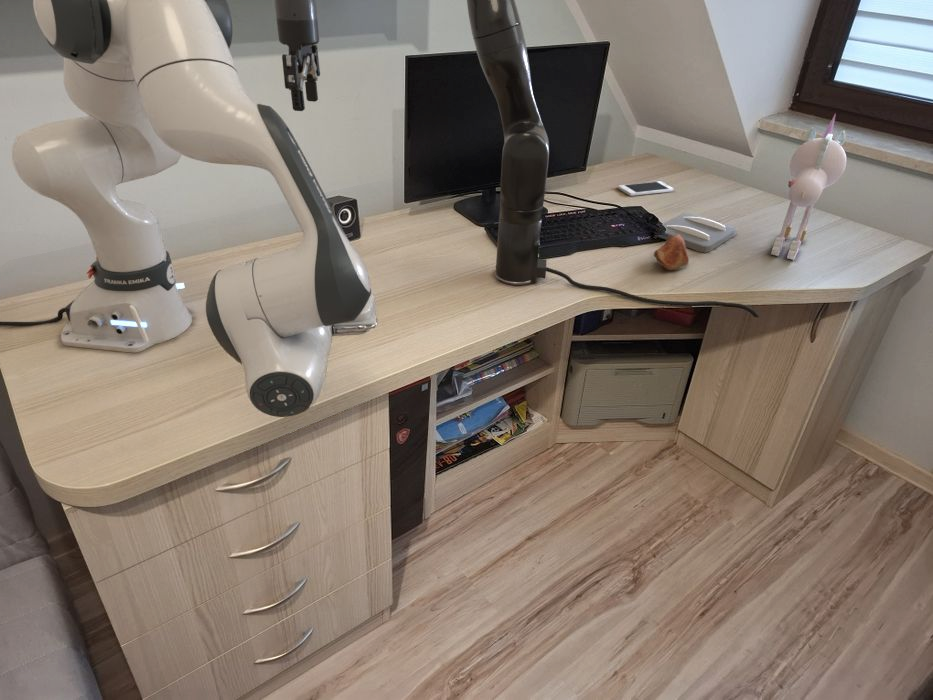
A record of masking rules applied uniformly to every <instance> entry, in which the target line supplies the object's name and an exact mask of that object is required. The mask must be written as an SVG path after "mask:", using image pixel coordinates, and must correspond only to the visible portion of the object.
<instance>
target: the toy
mask: <svg viewBox="0 0 933 700" xmlns="http://www.w3.org/2000/svg"><path fill="white" fill-rule="evenodd" d="M836 116H837V115H836V112H835V113H834V115H833V116H832V119H831V120H830V122H829V124H828V126H827V128H826V130H825V131H824V133H823V134H822V136H821V137H817V138H816V136H817V128H815V127H810V129H809V130H808V133H807V135H806V136H805V142H804V143H802V144H801V145H800V146H798V148H797V149H796V150H795V151H794V152H793V154H792V156H791V159H790V162H789V173H790V175H791V178H792V180H789V181H788V188H789V189H788V198H789V201H790V202H789V205H788V209H787V212H786V215H785V218H784V221H783V223H782V227H781V230H780V233H779V235H777V236H776V239H775V241H774V243H773V246H772V249H771V253H770V255H772V256H776V257H779V255H780V253H781V252H782V249H783V248H784V246H785V242H786V240H789V238H790V234H791V232H792V227H793V225H792V223H793V219H794V217H795V213H796V211H797V208H798V207H801V208H802V207H804V208H805V210H804V213H803V216H802V219H801V222H800V225H799V227H798V230H797V233H796V237H795V239H793V240H792V242H791V245H790V247H789V250H788V253H787V256H786V259H788V260H792V261H794V260H795V259H796V257H797V255H798V253H799V251H800V249H801V245H802V244H803V243H804V240H805V238H806V235H807V231H808V228H807V227H808V224H809V221H810V218H811V215H812V212H813V209H814V207H815V204H816V202H817V201H818V200H819V199H820V197H821V195H822V193H823V191H824V189H827V188H828V187H831V186H832V185H834V184H835V183H836V182H837V181H838V180H840V178H841V177H842V176H843V174H844V173H845V170H846V168H847V167H846V166H847V154H846V152H845V150H844V148H843V145H844V143H845V141H846V140H847V134H846V131H845V130H840V131H839V132H838V133H837V135H836V137H835V139H833V129H834V125H835V120H836ZM841 135H842V138H841V141H840V137H841Z"/></svg>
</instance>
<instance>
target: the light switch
mask: <svg viewBox="0 0 933 700" xmlns="http://www.w3.org/2000/svg"><path fill="white" fill-rule="evenodd" d="M661 224H662V225H663V226H664V227H665V228H666V231H665V234H667V235H668V237H665V236H662V235H658V236H657V235H654V236H655V237H657V238H659V239H663V240H665V241H667V240H668V238H670V237H672V236H676V235H678V234H680V235H681V236H682V238H683V239H684V241H685V245H686V248H689V249H692V250H694V251H697V252H699V253H709V252H711V251H712V250H714V249H716V248H717V247H719V246H720V245H722V244H724V243H725V242H727V241H730V239H732V238H734V237H736V234H737V228H736V227H734V226H732V225H729V224H725V223H722V222H719V221H716V220H713V219H710V218H707V217H703V216H700V215H697V214H694V213H690V212H683V213H682V214H679V215H677V216H675V217H673V218H671V219H669V220H668V221H666V222H663V223H661Z"/></svg>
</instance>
